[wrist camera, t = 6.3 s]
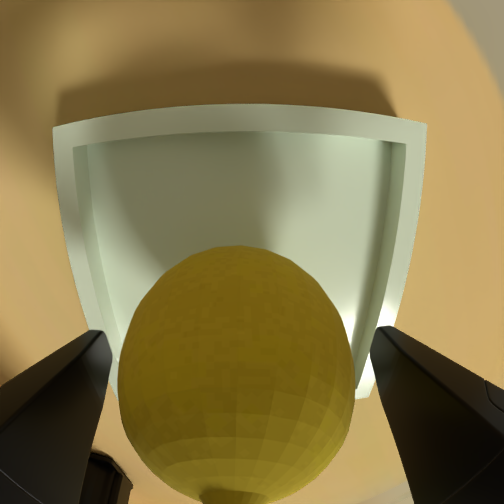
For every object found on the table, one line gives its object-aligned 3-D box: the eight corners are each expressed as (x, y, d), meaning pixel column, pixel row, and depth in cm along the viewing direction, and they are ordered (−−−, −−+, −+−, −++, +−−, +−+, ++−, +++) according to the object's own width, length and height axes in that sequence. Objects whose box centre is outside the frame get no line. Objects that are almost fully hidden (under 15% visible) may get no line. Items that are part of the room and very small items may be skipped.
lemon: (194, 183, 9) (49, 380, 2) (343, 249, 10) (466, 450, 3) (147, 313, 11) (76, 502, 4) (272, 358, 12) (291, 541, 5)
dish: (127, 375, 13) (117, 400, 12) (78, 126, 9) (52, 127, 7) (357, 372, 14) (368, 397, 12) (400, 122, 9) (426, 123, 8)
